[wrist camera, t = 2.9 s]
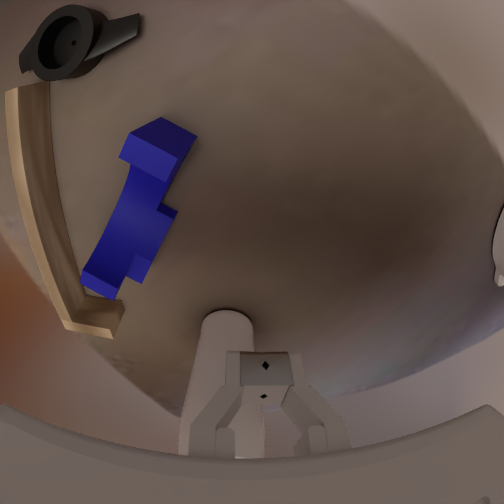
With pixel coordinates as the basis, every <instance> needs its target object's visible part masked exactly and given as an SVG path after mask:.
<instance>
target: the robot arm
mask: <svg viewBox="0 0 504 504" xmlns="http://www.w3.org/2000/svg"><path fill="white" fill-rule="evenodd" d="M493 260H494V263H495V266H496V271H495V277H494V282H495V283H496V284H497V285H498V286H503V285H504V209H503V211H502V213H501V216H500V218H499V221H498V224H497V227H496V231H495V235H494V240H493ZM241 406H281V408H282V409H283V410H284V412H285V413H286V414H287V416H288V417H289V418H290V420H291V421H292V422H293V424H294V425H295V426H296V428H297V429H298V430H299V431H300V433H301V434H302V437H301V438H300V439H299V440H298V441H297V442H296V444H295V445H294V446H293V449H294V456H293V457H280V458H235V431H234V430H232V429H231V428H227V427H228V425H229V424H230V422H231V421H232V419H233V418H234V416H235V415H236V413H237V412H238V410H239V409H240V407H241ZM0 504H504V416H503V415H502V414H501V413H500V412H498V411H497V410H496V409H495V408H493V407H492V406H490V405H483V406H481V407H479V408H477V409H475V410H472V411H470V412H468V413H466V414H464V415H461V416H459V417H457V418H454V419H452V420H449V421H446V422H444V423H441V424H439V425H436V426H433V427H430V428H427V429H425V430H422V431H419V432H416V433H412V434H409V435H406V436H402V437H399V438H395V439H392V440H388V441H384V442H380V443H376V444H372V445H367V446H362V447H358V448H351V444H350V439H349V434H348V430H347V425H346V421H345V420H344V419H343V418H342V417H341V416H340V415H339V414H338V413H337V412H336V411H335V410H334V409H333V408H332V407H331V406H330V405H329V404H328V403H327V402H326V401H325V400H324V399H323V398H322V397H321V396H320V395H319V394H318V393H317V392H316V391H315V389H314V388H313V387H312V386H311V385H307V382H306V377H305V371H304V366H303V361H302V356H301V353H300V352H250V351H231V350H227V354H226V369H225V385H222V386H221V387H220V389H219V390H218V391H217V392H216V394H215V395H214V396H213V397H212V399H211V400H210V401H209V402H208V404H207V405H206V406H205V407H204V409H203V410H202V411H201V412H200V414H199V415H198V416H197V417H196V418H195V420H194V421H193V422H192V423H191V424H190V436H189V449H188V455H179V454H171V453H164V452H158V451H151V450H146V449H140V448H135V447H130V446H126V445H121V444H116V443H113V442H108V441H105V440H101V439H98V438H94V437H90V436H87V435H84V434H81V433H77V432H75V431H72V430H68V429H66V428H63V427H60V426H57V425H55V424H52V423H49V422H47V421H44V420H42V419H39V418H37V417H35V416H32V415H30V414H28V413H25V412H23V411H21V410H19V409H17V408H15V407H13V406H11V405H8V404H2V405H0Z"/></svg>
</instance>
